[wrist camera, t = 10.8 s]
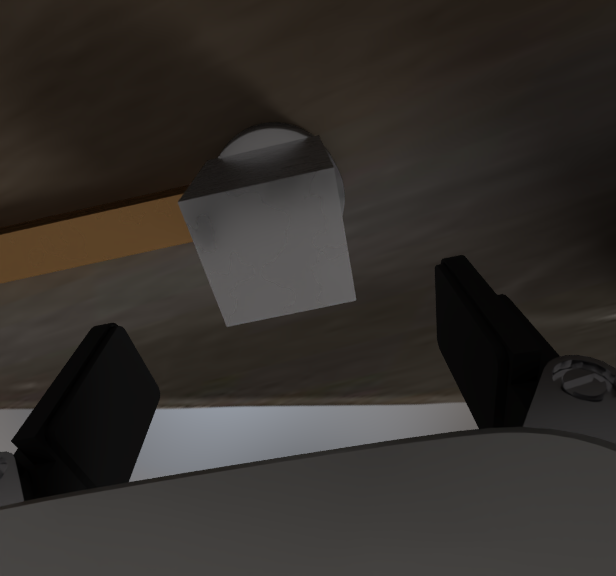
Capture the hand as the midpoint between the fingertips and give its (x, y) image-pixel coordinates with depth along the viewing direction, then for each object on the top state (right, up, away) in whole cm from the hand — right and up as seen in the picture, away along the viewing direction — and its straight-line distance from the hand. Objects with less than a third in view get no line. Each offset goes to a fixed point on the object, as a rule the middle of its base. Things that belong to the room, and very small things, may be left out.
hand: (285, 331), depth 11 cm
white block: (-1, +6, +11) cm, 13 cm away
